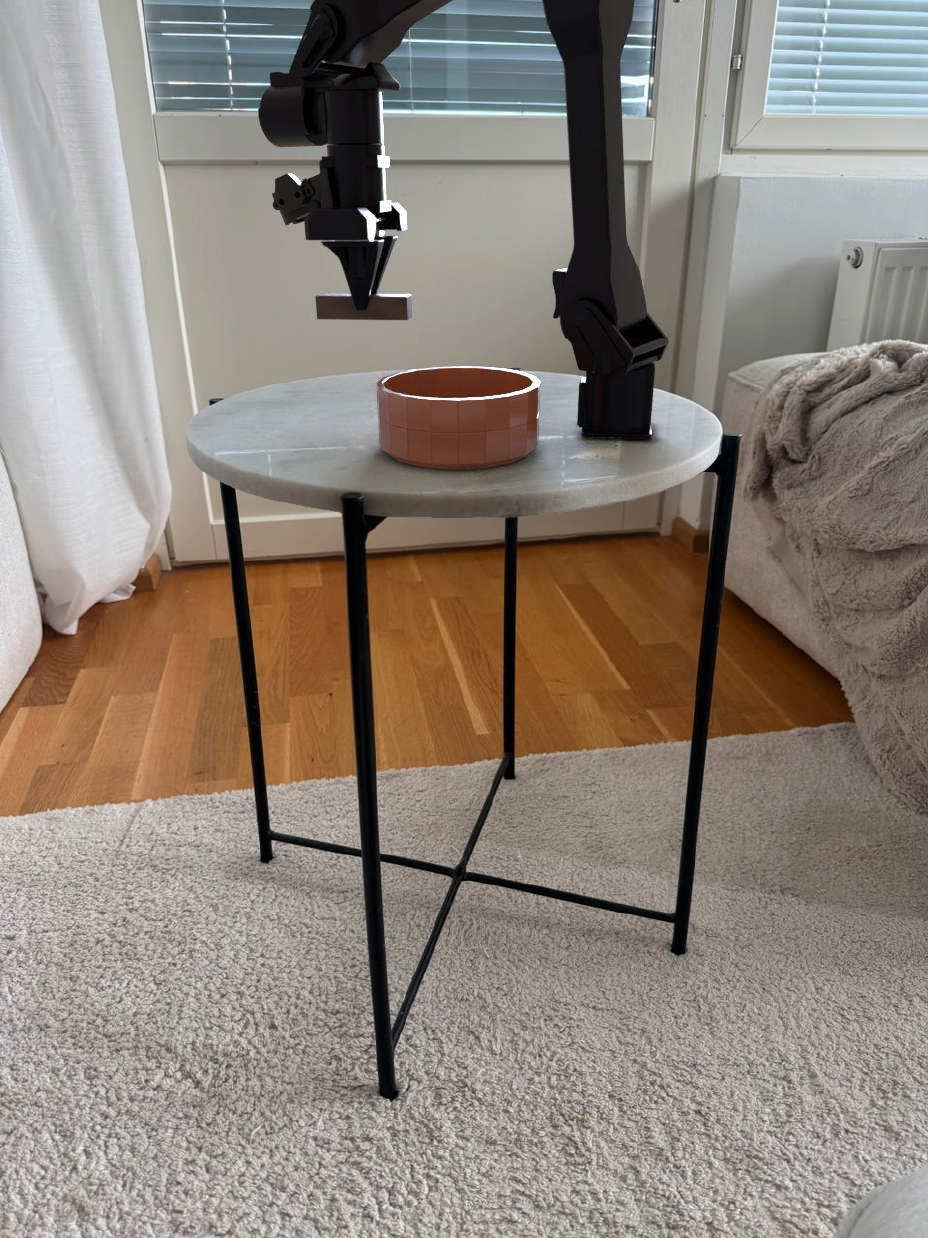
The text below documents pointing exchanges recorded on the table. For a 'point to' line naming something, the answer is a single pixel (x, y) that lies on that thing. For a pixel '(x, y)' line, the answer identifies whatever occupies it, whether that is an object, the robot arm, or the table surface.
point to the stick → (376, 309)
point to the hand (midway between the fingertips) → (364, 308)
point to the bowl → (458, 416)
